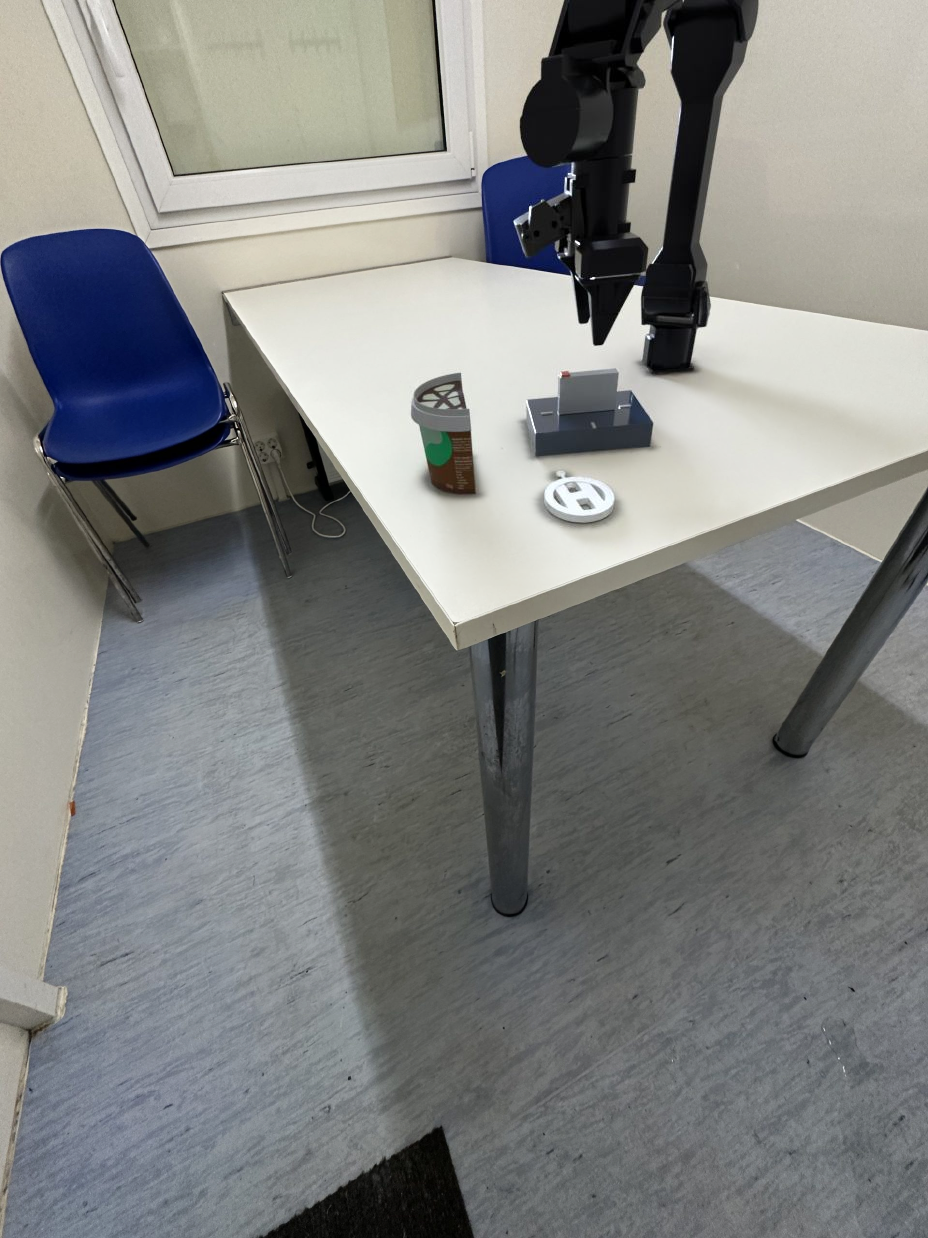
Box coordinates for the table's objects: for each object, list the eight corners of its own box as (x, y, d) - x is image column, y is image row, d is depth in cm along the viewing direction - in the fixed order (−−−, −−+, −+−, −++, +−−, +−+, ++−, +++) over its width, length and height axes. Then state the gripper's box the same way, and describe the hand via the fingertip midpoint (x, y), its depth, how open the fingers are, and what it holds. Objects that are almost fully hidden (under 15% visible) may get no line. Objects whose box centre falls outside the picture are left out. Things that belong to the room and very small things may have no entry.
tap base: (628, 411, 75) (631, 388, 72) (650, 446, 66) (654, 421, 64) (526, 421, 75) (526, 397, 73) (535, 457, 67) (535, 432, 65)
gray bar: (612, 404, 69) (616, 365, 66) (615, 409, 68) (619, 370, 65) (557, 409, 69) (558, 371, 66) (559, 414, 68) (560, 375, 65)
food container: (420, 458, 69) (407, 376, 63) (467, 452, 69) (460, 370, 63) (422, 506, 60) (408, 417, 54) (477, 500, 60) (469, 410, 54)
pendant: (559, 527, 54) (559, 521, 54) (527, 478, 63) (527, 472, 62) (626, 515, 55) (627, 508, 55) (586, 468, 63) (586, 461, 63)
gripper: (511, 162, 60) (514, 319, 70) (528, 171, 46) (528, 365, 56) (612, 151, 59) (600, 311, 70) (661, 156, 45) (637, 355, 56)
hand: (590, 333), depth 63 cm, fingers open, 9 cm apart
